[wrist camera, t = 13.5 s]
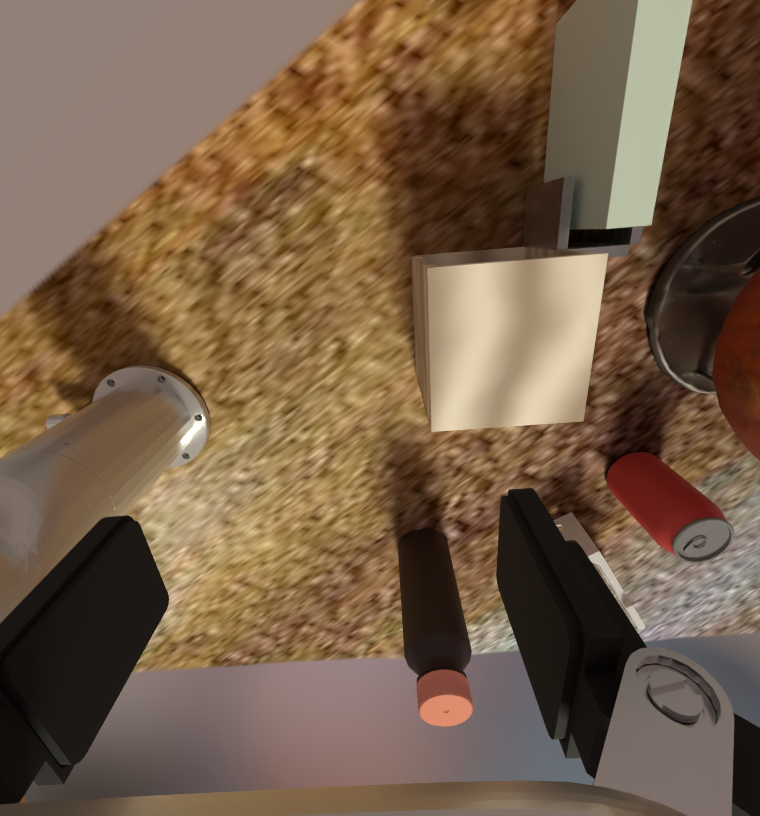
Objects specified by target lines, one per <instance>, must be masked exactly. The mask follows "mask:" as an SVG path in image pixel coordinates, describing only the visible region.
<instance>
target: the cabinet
mask: <svg viewBox="0 0 760 816" xmlns="http://www.w3.org/2000/svg"><path fill="white" fill-rule="evenodd" d="M607 258H608V253H598V252H588V251H577V250H548V249H539V248H529V247H515V248H502V249H490V250H478V251H465V252H453V253H441V254H429V255H416V256H411V269H412V293H413V317H414V342H415V366H416V375H417V379H418V383H419V387H420V390H421V394H422V398H423V402H424V405H425V409H426V413H427V417H428V420H429V424H430V428H431V432H435V431H450V430H464V429H478V428H493V427H507V426H522V425H536V424H551V423H565V422H580V421H583V420H584V413H585V406H586V400H587V393H588V386H589V379H590V373H591V366H592V359H593V353H594V346H595V339H596V332H597V326H598V319H599V312H600V306H601V299H602V292H603V285H604V279H605V272H606V265H607Z"/></svg>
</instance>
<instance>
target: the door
mask: <svg viewBox="0 0 760 816" xmlns="http://www.w3.org/2000/svg"><path fill="white" fill-rule="evenodd" d="M691 6H692V0H576V1H575V3H574V4H573V5H572V6H571V7H570V8H569V10H568V11H567V12H566V13H565V14H564V15H563V17H562V18H561V19H560V20H559V21H558V22H557V24H556V33H555V46H554V59H553V71H552V84H551V97H550V109H549V122H548V134H547V147H546V160H545V172H544V183H545V182H549V181H552V180H555V179H559V178H562V177H568V176H575V184H574V193H573V202H572V212H571V221H570V229H612V228H624V227H636V226H647V225H651V224H652V218H653V213H654V207H655V202H656V196H657V191H658V186H659V180H660V175H661V169H662V164H663V158H664V153H665V147H666V142H667V136H668V131H669V126H670V120H671V115H672V109H673V104H674V98H675V93H676V87H677V82H678V76H679V71H680V66H681V60H682V55H683V49H684V44H685V38H686V33H687V27H688V22H689V16H690V11H691Z"/></svg>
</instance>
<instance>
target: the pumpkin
mask: <svg viewBox="0 0 760 816" xmlns="http://www.w3.org/2000/svg"><path fill="white" fill-rule="evenodd" d="M646 322H647V324H648V328H649V336H650V338H649V340H650V345H651V347H652V349H651V350H652V351H653V356H654V359H655V361H656V362H657V366H658V367H659V369H660V370H661V371H663V372H664V373H665V374H666V375H667V376H668V377H669V378H670V379H671V380H672V381H674V382H675V383H677V384H679V385H681V386H683V387H684V388H686V389H689V390H692V391H694V392H699V393H706V394H713V395H717V397H718V401H719V405H720V408H721V410H722V412H723V414H724V416H725V417H726V419H727V421H728V423H729V424H730V426H731V427H732V429H733V430H734V432H735V433H736V434H737V436H738V437H739V438H740V440H741V441H742V442H743V444H744V445H745V446H746V447H747V449H748V450H749V451H750V452H751V453H752V454H753V455H754V456H755V457H756V458H757V459H758V460H759V461H760V198H756V199H753V200H749V201H747V202H742V203H740V204H738V205H736V206H734V207H733V208H731V209H729V210H727V211H724V212H723V213H721V214H720V215H717V216H715V217H714V218H713V219H711V220H709V221H707V222H706V223H705V224H704V225H703V226H702V227H701V228H700V229H699V230H698V231H696V232H695V233H694V234H693V235H691V236H690V237H689V238H688V239H687V240H686V241H685V242H684V243H683V244H682V245H681V246H680V248H679V249H678V250H677V251H676V252H675V254H674V255H673V257H672V258H671V259H670V260H669V262H668V264H667V266H666V267H665V268H664V270H663V272H662V274H661V275H660V277H659V279H658V281H657V283H656V286H655V288H654V290H653V292H652V294H651V299H650V303H649V306H648V309H647V311H646Z"/></svg>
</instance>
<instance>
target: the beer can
mask: <svg viewBox="0 0 760 816" xmlns="http://www.w3.org/2000/svg"><path fill="white" fill-rule="evenodd" d="M607 485H608V488H609V489H610V491H611V492H612V493H613V494H614V495H615V497H616V498H617V499H618V500H619V501H620V502H621V503H622V504H623V505H624V507H625V508H626V509H627V510H628V511H629V512H630V513H631V514H632V516H633V517H634V518H635V519H636V520H637V521H638V522H639V523H640V524H641V526H642V527H643V528H644V529H645V530H646V531H647V532H648V533H649V535H650V536H651V537H652V538H653V539H654V540H655V541H656V542H657V544H658V545H660V546H661V547H663V548H664V549H665V550H667V551H669V552H670V553H672V554H674V555H676V557H677V558H679V559H680V560H682V561H684V562H688V563H702V562H706V561H710V560H712V559H714V558H716V557H718V556H720V555H721V554H722V553H724V552H725V551H726V550H727V549H728V548H729V546H730V545H731V543H732V541H733V538H734V529H733V527H732V525H731V524H730V523H728V522H727V520H726V518H725V516H724V515H723V513H722V511H721V510H720V509H719V507H718V506H717V505H715V504H714V503H713V502H712V501H711V500H709V499H708V498H707V497H706V496H704V495H703V494H702V493H701V492H699V491H698V490H697V489H696V488H694V487H693V486H692V485H691V484H690V483H688V482H687V481H686V480H685V479H683V478H682V477H681V476H680V475H678V474H677V473H676V472H675V471H674V470H672V469H671V468H670V467H669V466H667V465H666V464H665V463H664V462H662V461H661V460H660V459H659V458H657V457H656V456H655V455H653V454H650V453H647V452H633V453H630V454H627V455H624V456H623V457H621V458H619V459H618V460H617V461H616V462H615V463H614V464H612V466H611V468H610V469H609V471H608V474H607Z"/></svg>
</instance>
